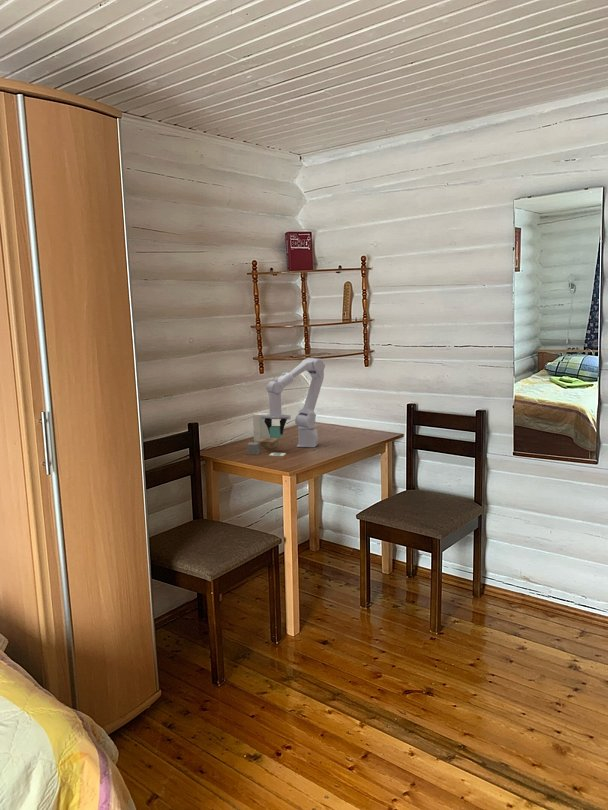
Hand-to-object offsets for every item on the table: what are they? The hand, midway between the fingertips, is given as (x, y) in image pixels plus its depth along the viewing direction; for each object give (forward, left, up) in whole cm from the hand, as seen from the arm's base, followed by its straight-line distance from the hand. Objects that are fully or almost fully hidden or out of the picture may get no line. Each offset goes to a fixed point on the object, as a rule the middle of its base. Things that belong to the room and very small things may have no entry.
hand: (276, 433), depth 318 cm
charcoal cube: (+9, +7, -8) cm, 14 cm away
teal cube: (0, 0, -2) cm, 2 cm away
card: (-3, +8, -8) cm, 12 cm away
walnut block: (+6, -7, -9) cm, 13 cm away
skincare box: (+12, -19, -9) cm, 25 cm away
